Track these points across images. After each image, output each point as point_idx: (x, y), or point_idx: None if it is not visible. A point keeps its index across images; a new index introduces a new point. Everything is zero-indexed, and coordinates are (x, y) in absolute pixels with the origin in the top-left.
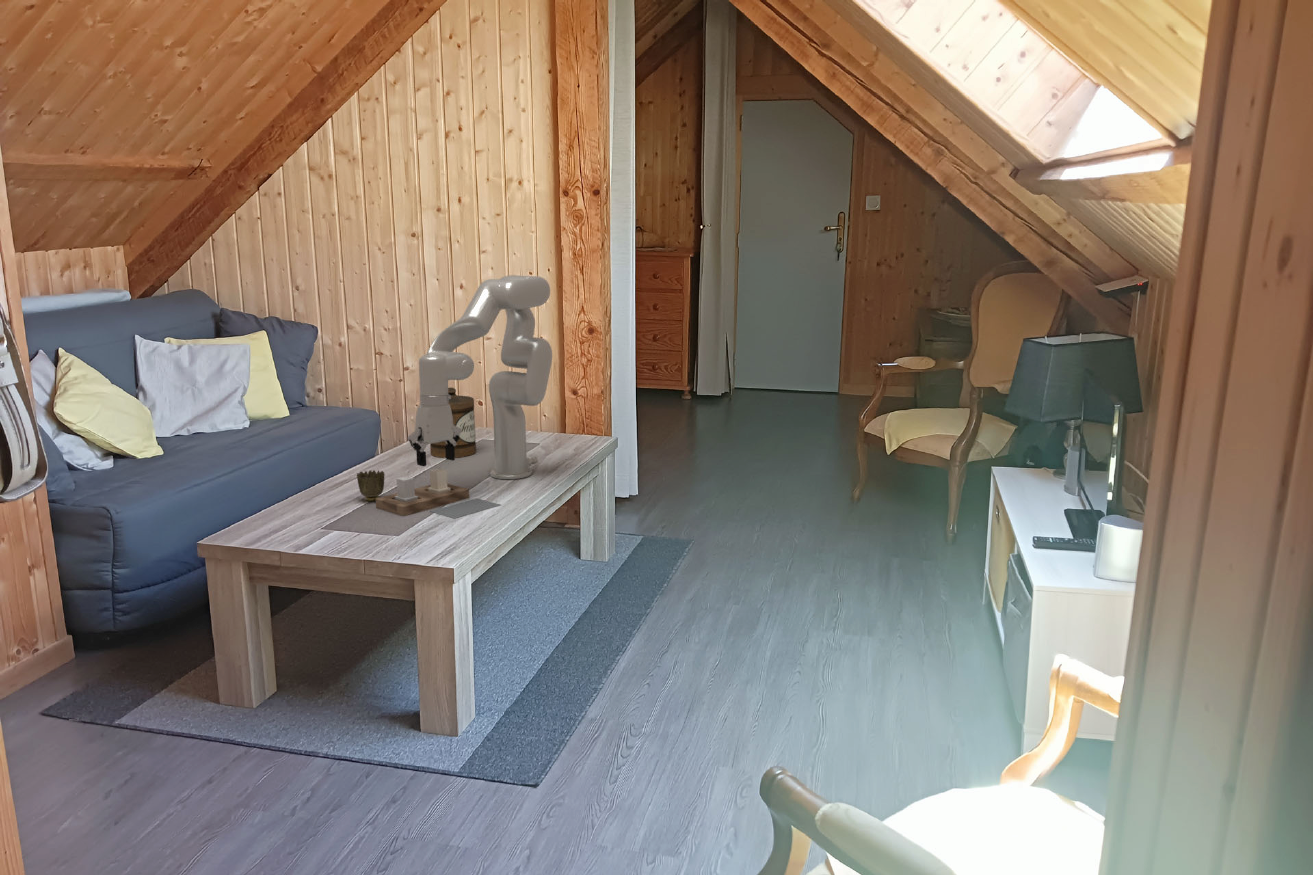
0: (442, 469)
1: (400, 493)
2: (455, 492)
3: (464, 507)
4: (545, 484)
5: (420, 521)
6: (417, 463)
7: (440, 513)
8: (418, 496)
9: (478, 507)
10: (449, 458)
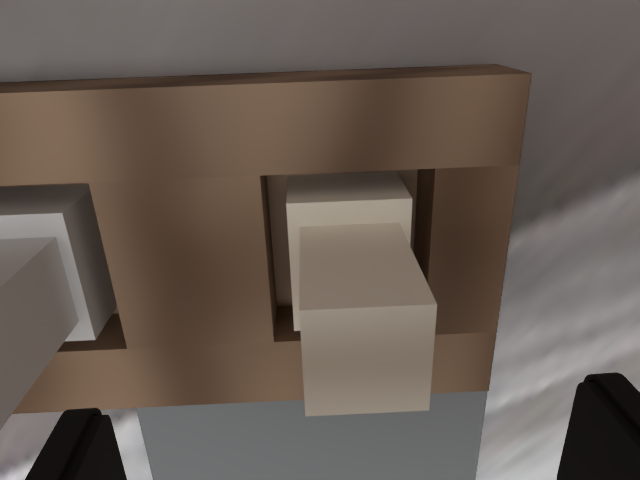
0: (424, 362)
1: None
2: None
3: (316, 465)
4: None
5: (30, 461)
6: (63, 422)
7: (158, 466)
8: (125, 299)
9: None
10: (572, 455)
